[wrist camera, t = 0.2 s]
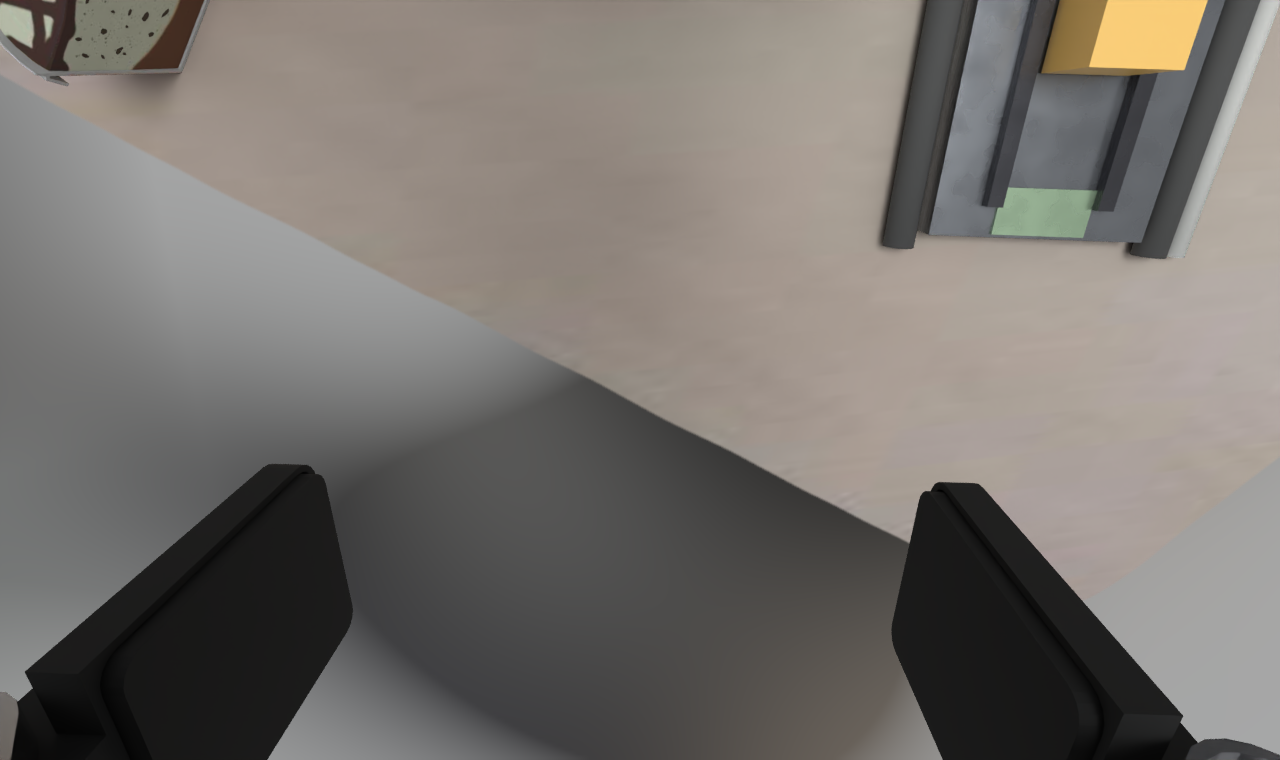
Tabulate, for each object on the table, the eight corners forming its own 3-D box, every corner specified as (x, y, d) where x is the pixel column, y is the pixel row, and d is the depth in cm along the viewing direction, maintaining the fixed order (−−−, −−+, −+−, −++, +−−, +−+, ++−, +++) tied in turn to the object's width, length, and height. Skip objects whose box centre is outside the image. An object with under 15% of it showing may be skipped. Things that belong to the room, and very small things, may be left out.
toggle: (1063, -13, 35) (1116, -31, 31) (1151, -10, 35) (1217, -28, 31) (1041, 73, 37) (1089, 67, 33) (1125, 75, 37) (1184, 69, 33)
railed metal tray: (1008, -216, 34) (1036, -244, 31) (1269, -210, 33) (1320, -239, 31) (917, 229, 43) (933, 236, 40) (1120, 237, 43) (1149, 244, 40)
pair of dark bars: (966, -241, 33) (984, -263, 31) (1353, -233, 33) (1394, -254, 31) (878, 242, 43) (888, 248, 41) (1173, 254, 43) (1196, 260, 41)
